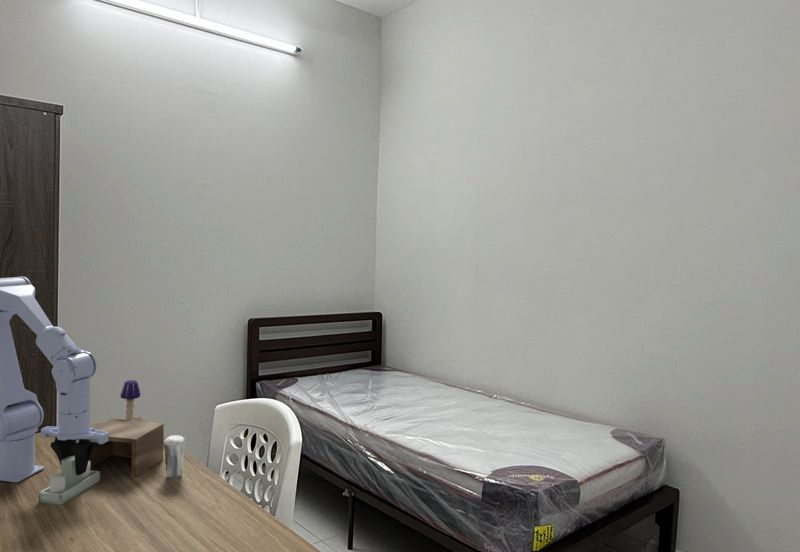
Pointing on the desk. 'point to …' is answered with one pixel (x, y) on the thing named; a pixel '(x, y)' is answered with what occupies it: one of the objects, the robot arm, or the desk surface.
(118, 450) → the brown open box
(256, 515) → the desk surface
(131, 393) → the toy lamp
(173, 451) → the milkshake
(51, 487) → the caddy
